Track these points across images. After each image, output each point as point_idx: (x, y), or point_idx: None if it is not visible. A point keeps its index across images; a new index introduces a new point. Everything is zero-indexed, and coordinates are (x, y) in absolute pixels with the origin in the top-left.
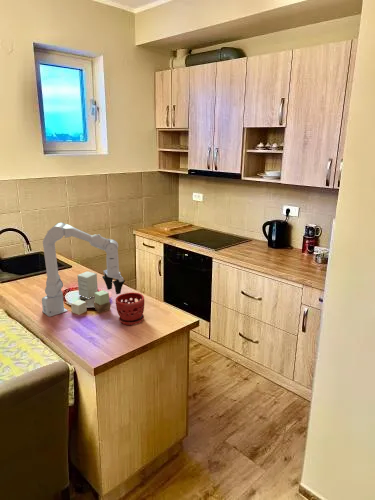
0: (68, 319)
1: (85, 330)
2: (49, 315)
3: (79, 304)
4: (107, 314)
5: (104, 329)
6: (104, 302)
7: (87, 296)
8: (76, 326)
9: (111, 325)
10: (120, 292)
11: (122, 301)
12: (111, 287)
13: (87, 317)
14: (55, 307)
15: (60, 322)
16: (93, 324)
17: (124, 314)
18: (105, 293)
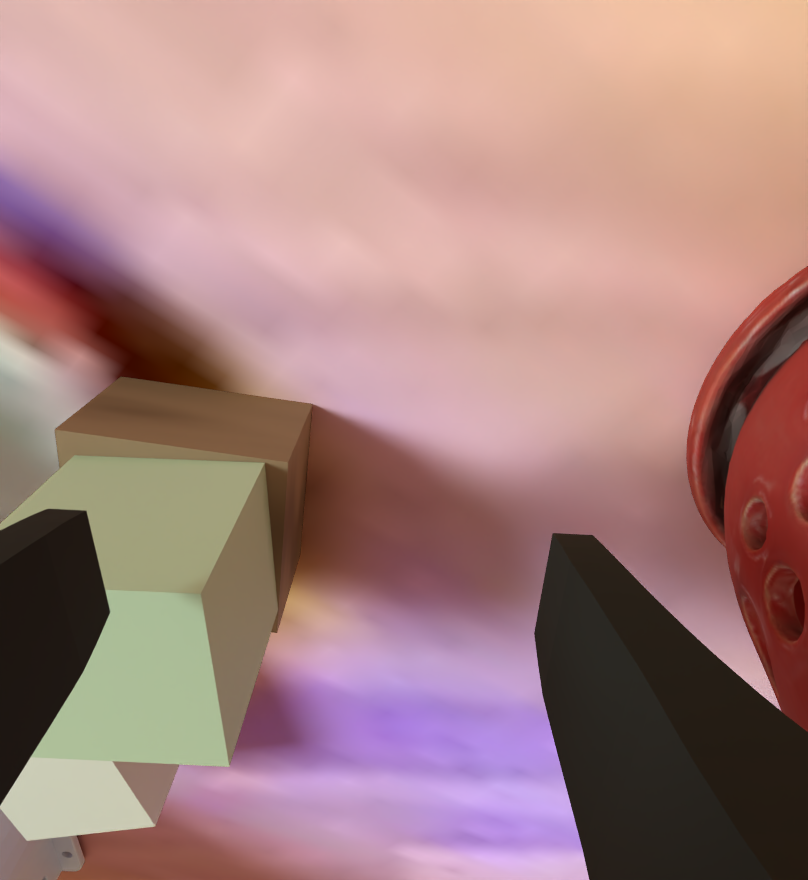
0: (237, 796)
1: (554, 804)
2: (69, 866)
3: (128, 807)
4: (423, 513)
5: None
6: (265, 560)
7: None
8: (423, 813)
9: (700, 630)
10: (611, 557)
11: (789, 572)
12: (58, 546)
13: (322, 686)
14: None
15: (249, 848)
16: (514, 721)
17: None
18: (184, 649)
